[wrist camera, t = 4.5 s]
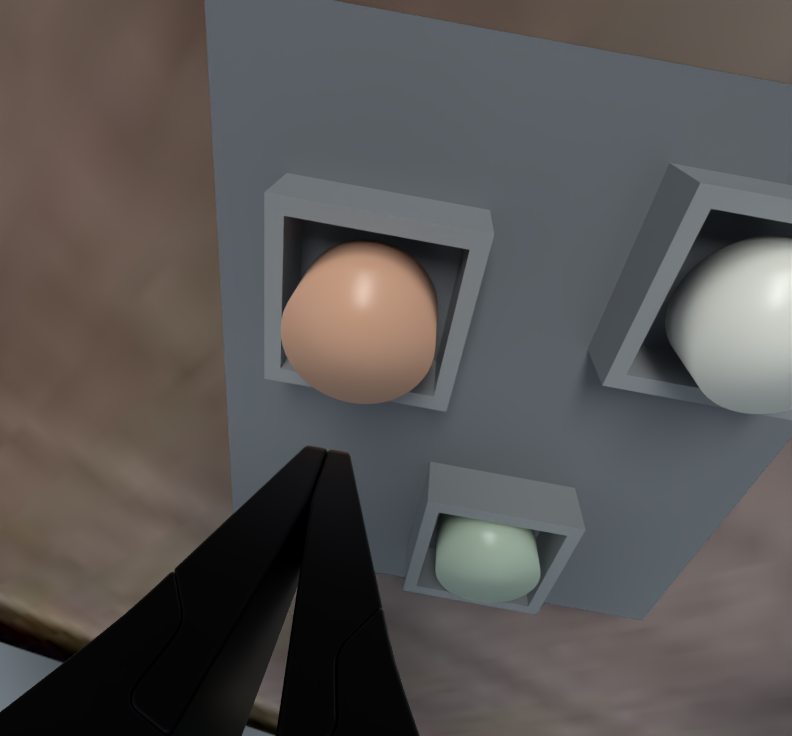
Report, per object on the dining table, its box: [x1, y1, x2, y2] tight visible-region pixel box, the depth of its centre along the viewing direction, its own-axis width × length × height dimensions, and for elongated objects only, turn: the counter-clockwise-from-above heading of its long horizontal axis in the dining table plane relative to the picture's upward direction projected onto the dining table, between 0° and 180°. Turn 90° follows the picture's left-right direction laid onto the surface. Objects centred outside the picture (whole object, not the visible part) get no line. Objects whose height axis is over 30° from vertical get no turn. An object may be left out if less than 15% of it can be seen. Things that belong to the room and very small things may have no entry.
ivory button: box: [665, 235, 792, 414], centre depth 13 cm, size 4×4×2 cm
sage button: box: [435, 513, 541, 603], centre depth 20 cm, size 4×4×2 cm
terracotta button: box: [280, 240, 438, 404], centre depth 14 cm, size 4×4×2 cm
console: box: [204, 0, 792, 620], centre depth 18 cm, size 20×22×4 cm
